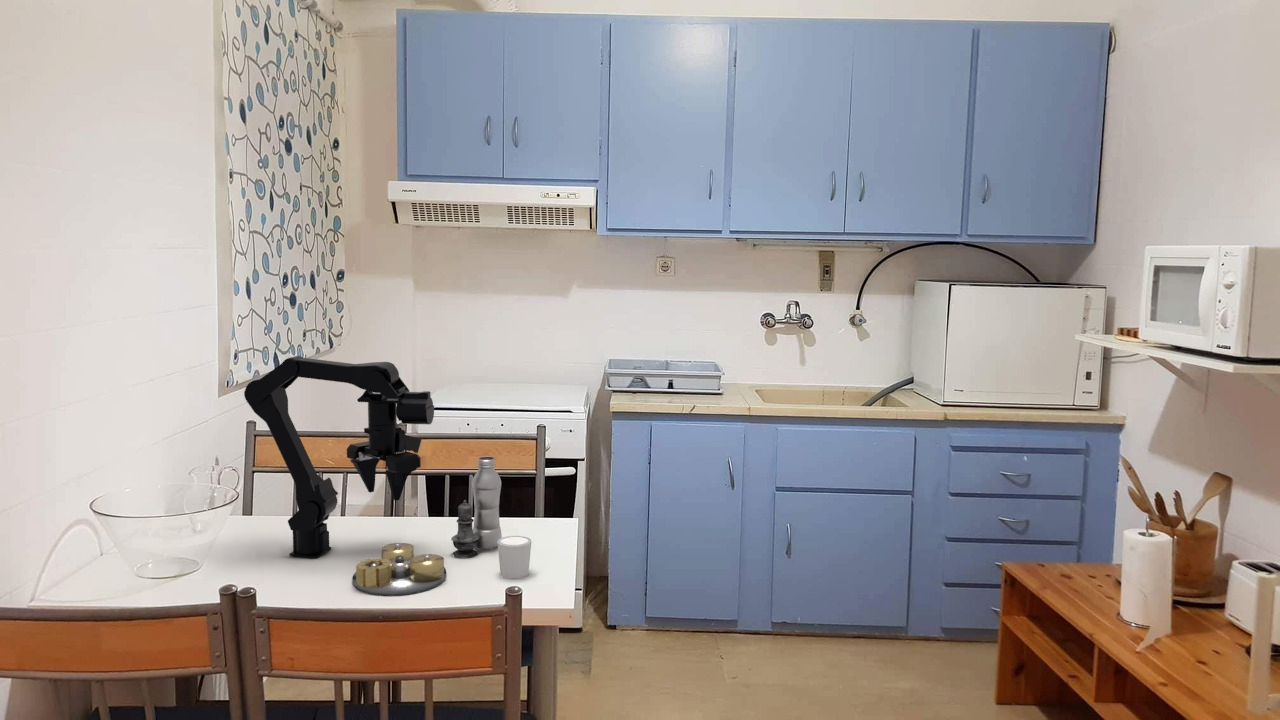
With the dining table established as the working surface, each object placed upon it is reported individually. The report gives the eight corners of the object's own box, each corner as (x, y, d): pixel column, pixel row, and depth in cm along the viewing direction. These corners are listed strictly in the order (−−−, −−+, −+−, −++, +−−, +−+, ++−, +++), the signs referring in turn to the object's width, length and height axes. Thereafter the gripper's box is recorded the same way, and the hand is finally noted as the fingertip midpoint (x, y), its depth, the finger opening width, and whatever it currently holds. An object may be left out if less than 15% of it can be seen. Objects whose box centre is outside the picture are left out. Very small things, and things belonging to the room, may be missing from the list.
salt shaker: (473, 559, 199) (472, 504, 198) (447, 557, 200) (446, 502, 199) (483, 550, 205) (482, 496, 203) (457, 548, 206) (457, 494, 205)
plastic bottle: (498, 541, 211) (498, 454, 209) (504, 551, 205) (504, 460, 202) (469, 544, 209) (469, 455, 207) (474, 554, 203) (473, 462, 200)
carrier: (335, 591, 180) (334, 564, 180) (378, 560, 198) (377, 535, 197) (424, 599, 177) (423, 572, 176) (460, 567, 195) (459, 542, 194)
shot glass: (493, 570, 193) (493, 537, 192) (526, 566, 196) (526, 533, 195) (502, 581, 187) (502, 547, 186) (535, 577, 190) (535, 543, 189)
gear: (350, 581, 183) (350, 564, 182) (379, 573, 188) (378, 556, 187) (369, 590, 179) (369, 572, 178) (398, 581, 183) (397, 563, 183)
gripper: (441, 424, 197) (442, 497, 199) (389, 412, 209) (390, 481, 211) (396, 431, 189) (397, 507, 191) (344, 419, 201) (346, 490, 203)
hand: (383, 496), depth 199 cm, fingers open, 9 cm apart
